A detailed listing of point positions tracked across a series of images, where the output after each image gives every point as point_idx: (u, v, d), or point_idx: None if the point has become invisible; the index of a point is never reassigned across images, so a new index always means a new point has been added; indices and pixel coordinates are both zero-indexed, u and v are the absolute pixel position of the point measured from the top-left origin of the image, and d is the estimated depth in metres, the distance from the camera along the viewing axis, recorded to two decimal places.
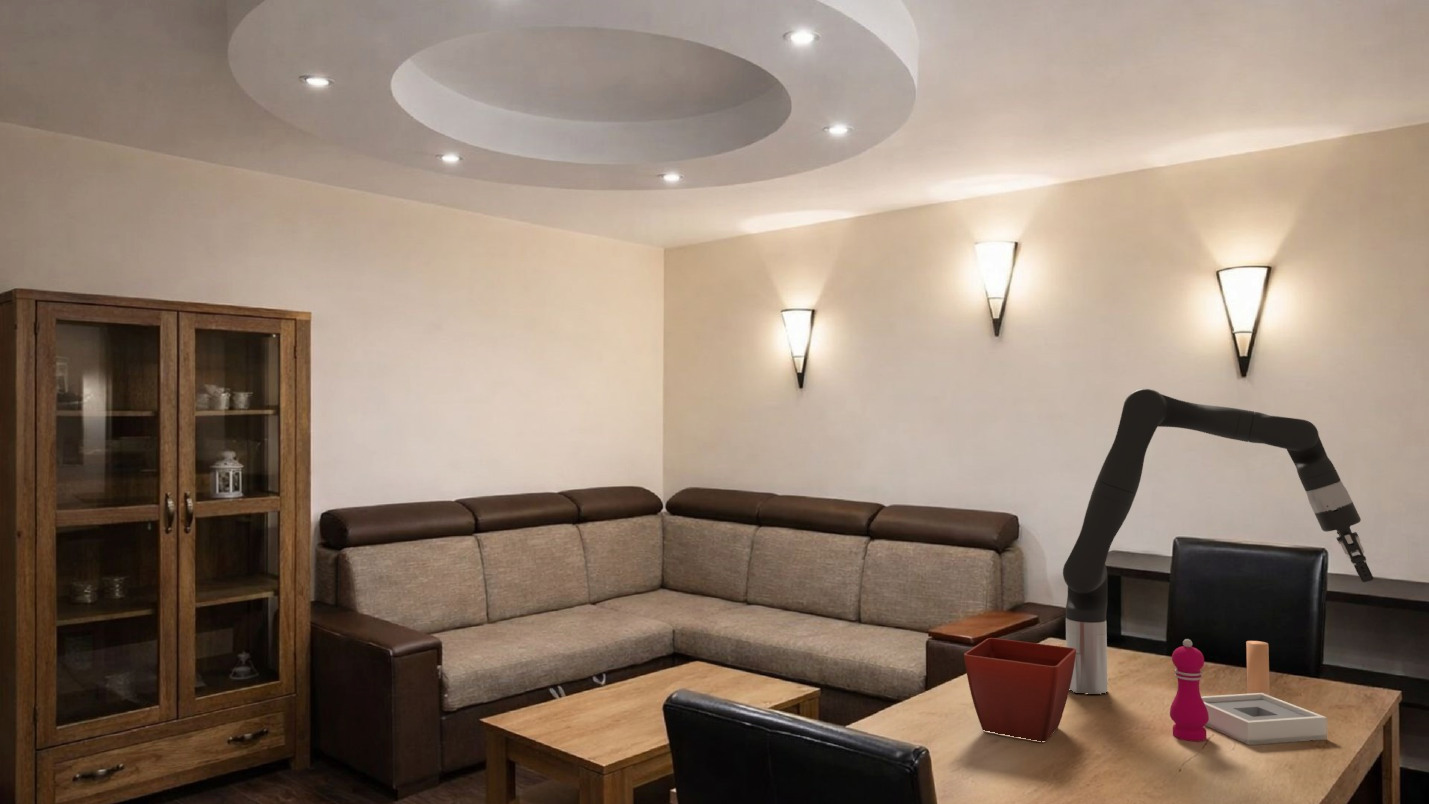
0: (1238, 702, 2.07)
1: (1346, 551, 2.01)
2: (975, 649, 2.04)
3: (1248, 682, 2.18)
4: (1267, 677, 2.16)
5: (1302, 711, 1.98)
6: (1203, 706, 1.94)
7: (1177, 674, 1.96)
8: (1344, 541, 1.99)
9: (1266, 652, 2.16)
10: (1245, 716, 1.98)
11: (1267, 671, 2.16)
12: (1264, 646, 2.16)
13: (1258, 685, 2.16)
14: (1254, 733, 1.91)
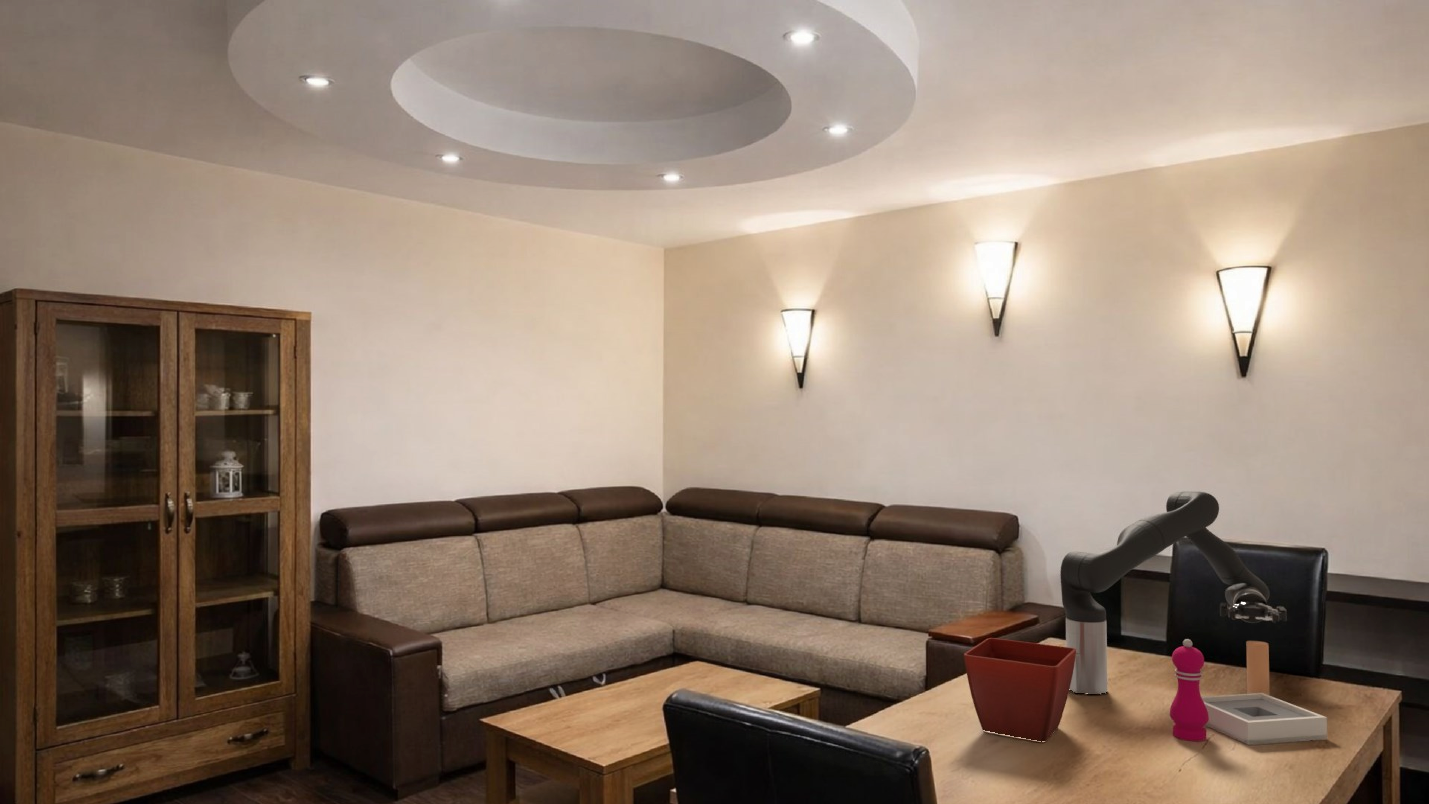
0: (1238, 702, 2.07)
1: None
2: (975, 649, 2.04)
3: (1248, 682, 2.18)
4: (1267, 677, 2.16)
5: (1302, 711, 1.98)
6: (1203, 706, 1.94)
7: (1177, 674, 1.96)
8: None
9: (1266, 652, 2.16)
10: (1245, 716, 1.98)
11: (1267, 671, 2.16)
12: (1264, 646, 2.16)
13: (1258, 685, 2.16)
14: (1254, 733, 1.91)
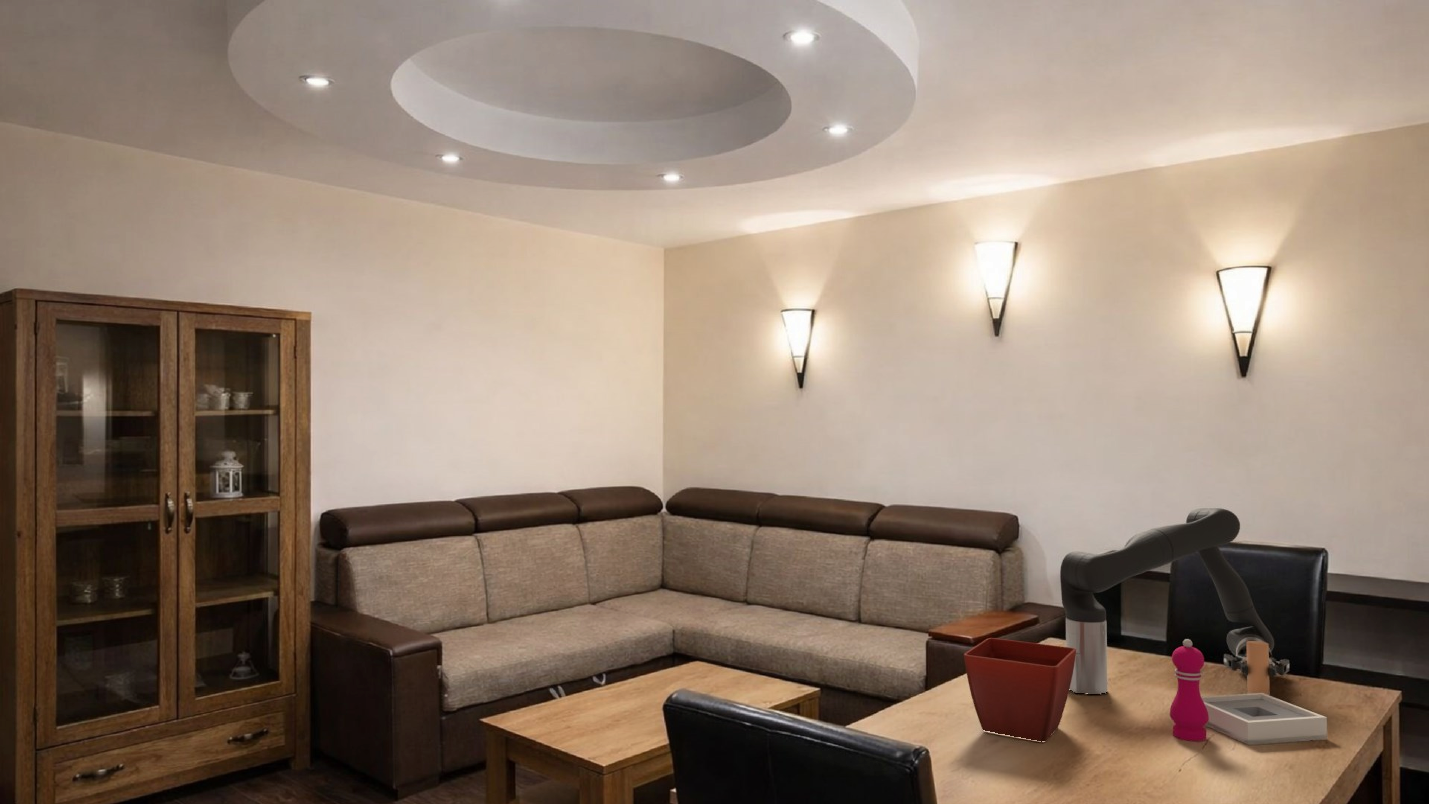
0: (1238, 702, 2.07)
1: None
2: (975, 649, 2.04)
3: (1248, 682, 2.18)
4: (1267, 677, 2.16)
5: (1302, 711, 1.98)
6: (1203, 706, 1.94)
7: (1177, 674, 1.96)
8: (1288, 662, 2.20)
9: (1266, 652, 2.16)
10: (1245, 716, 1.98)
11: (1267, 671, 2.16)
12: (1264, 646, 2.16)
13: (1258, 685, 2.16)
14: (1254, 733, 1.91)
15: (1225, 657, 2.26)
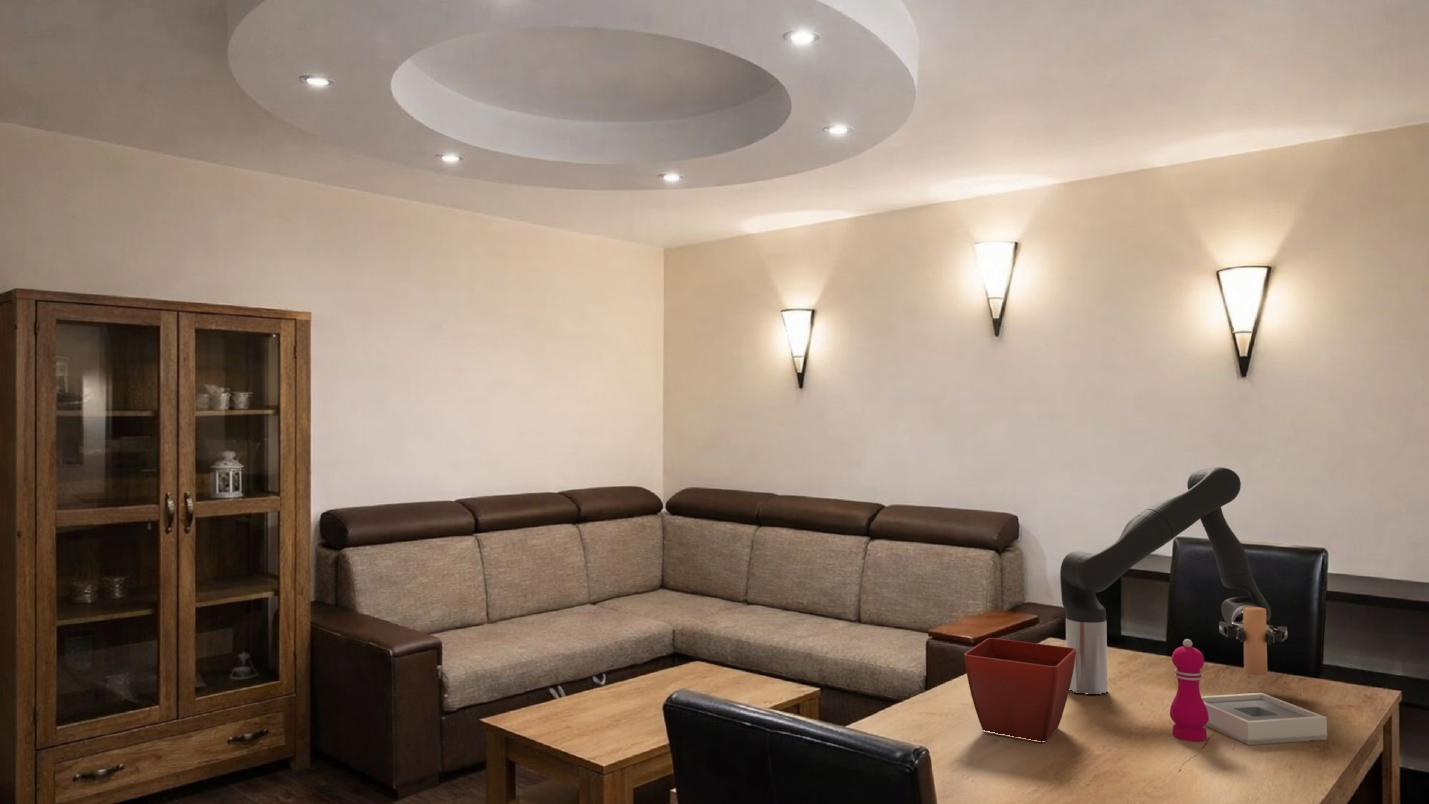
0: (1238, 702, 2.07)
1: None
2: (975, 649, 2.04)
3: (1245, 649, 2.08)
4: (1265, 644, 2.06)
5: (1302, 711, 1.98)
6: (1203, 706, 1.94)
7: (1177, 674, 1.96)
8: (1286, 629, 2.11)
9: (1264, 618, 2.06)
10: (1245, 716, 1.98)
11: (1265, 637, 2.06)
12: (1262, 611, 2.06)
13: (1255, 653, 2.06)
14: (1254, 733, 1.91)
15: (1220, 624, 2.16)
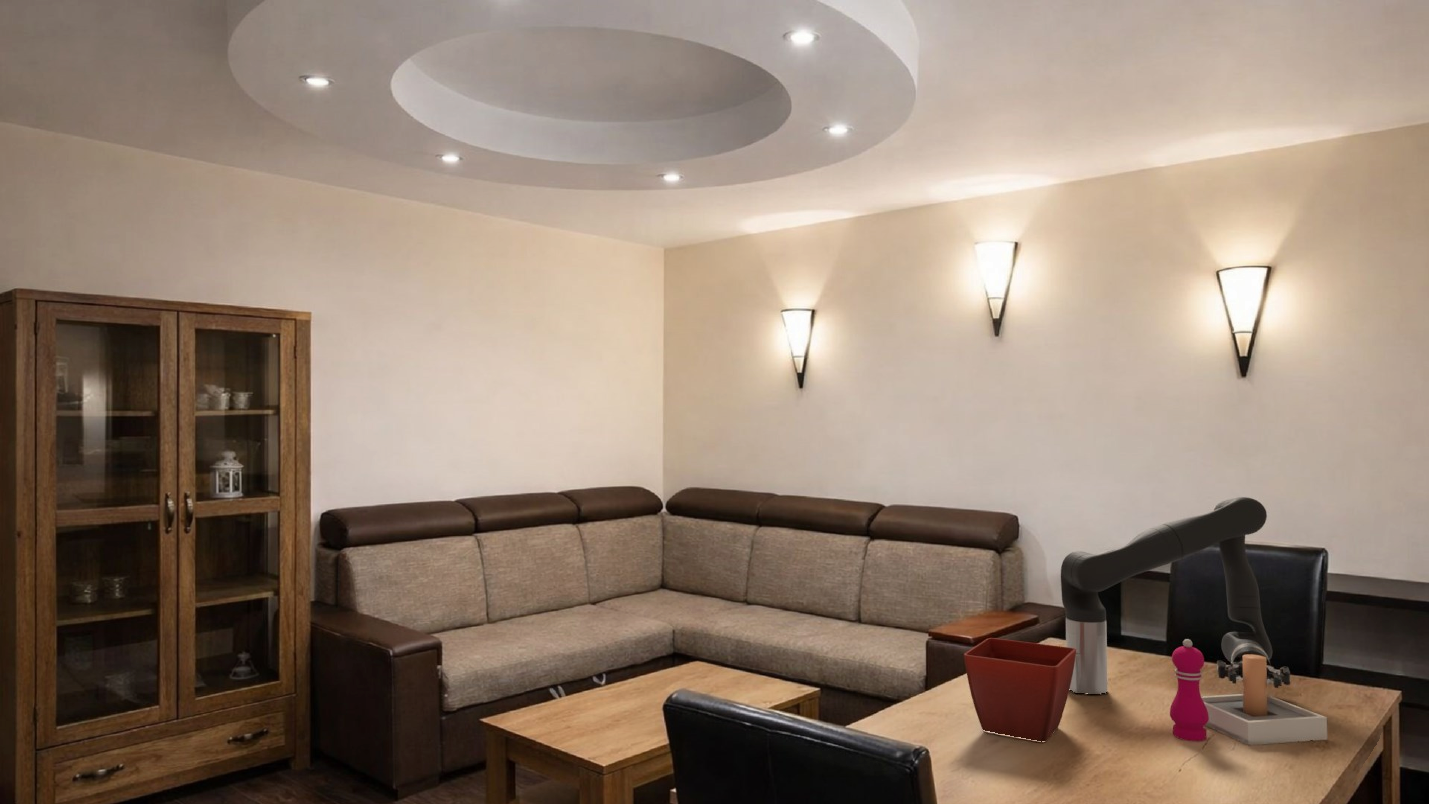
0: (1238, 702, 2.07)
1: None
2: (975, 649, 2.04)
3: (1244, 699, 2.01)
4: (1265, 694, 1.99)
5: (1302, 711, 1.98)
6: (1203, 706, 1.94)
7: (1177, 674, 1.96)
8: (1288, 669, 2.04)
9: (1264, 667, 1.99)
10: (1245, 716, 1.98)
11: (1265, 688, 1.99)
12: (1262, 661, 1.99)
13: (1255, 703, 1.99)
14: (1254, 733, 1.91)
15: (1217, 664, 2.10)
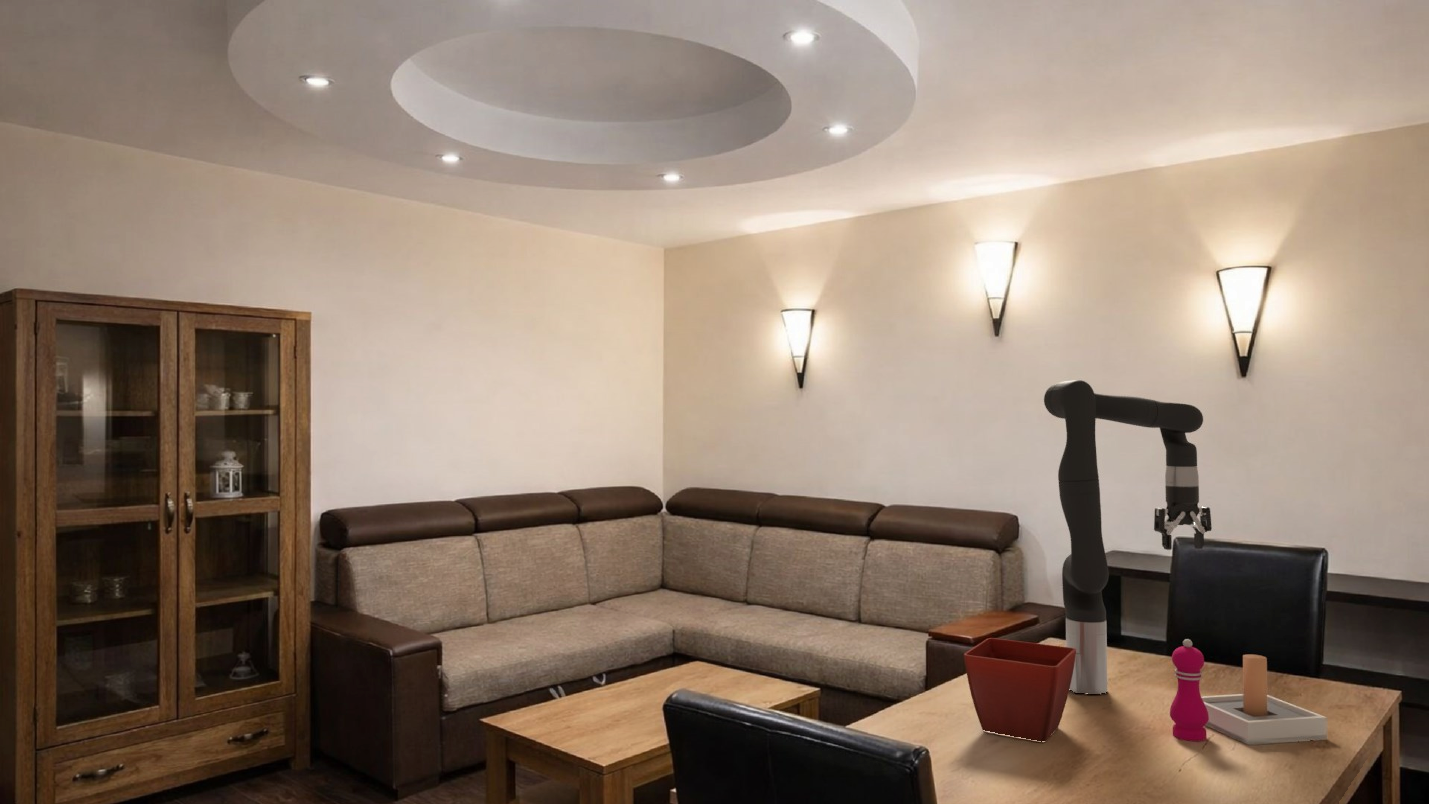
0: (1238, 702, 2.07)
1: (1199, 522, 2.37)
2: (975, 649, 2.04)
3: (1244, 699, 2.01)
4: (1265, 694, 1.99)
5: (1302, 711, 1.98)
6: (1203, 706, 1.94)
7: (1177, 674, 1.96)
8: None
9: (1264, 667, 1.99)
10: (1245, 716, 1.98)
11: (1265, 688, 1.99)
12: (1262, 660, 1.99)
13: (1255, 703, 1.99)
14: (1254, 733, 1.91)
15: (1159, 514, 2.36)
